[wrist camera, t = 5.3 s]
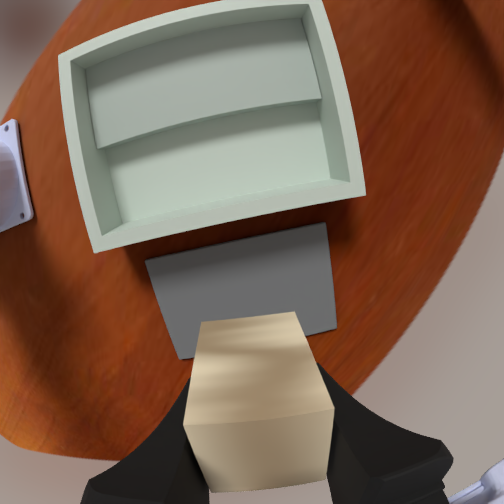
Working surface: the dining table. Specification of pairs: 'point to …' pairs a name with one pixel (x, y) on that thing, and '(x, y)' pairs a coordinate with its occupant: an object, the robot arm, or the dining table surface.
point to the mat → (246, 283)
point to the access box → (208, 119)
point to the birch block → (257, 405)
